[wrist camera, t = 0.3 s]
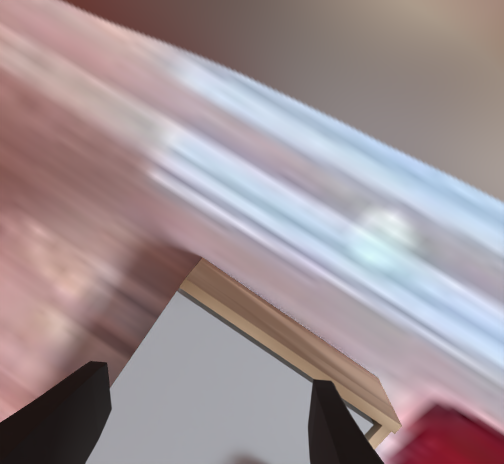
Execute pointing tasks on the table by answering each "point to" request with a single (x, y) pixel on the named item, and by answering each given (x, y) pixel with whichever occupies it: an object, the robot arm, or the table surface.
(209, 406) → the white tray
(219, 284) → the birch box
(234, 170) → the table surface
